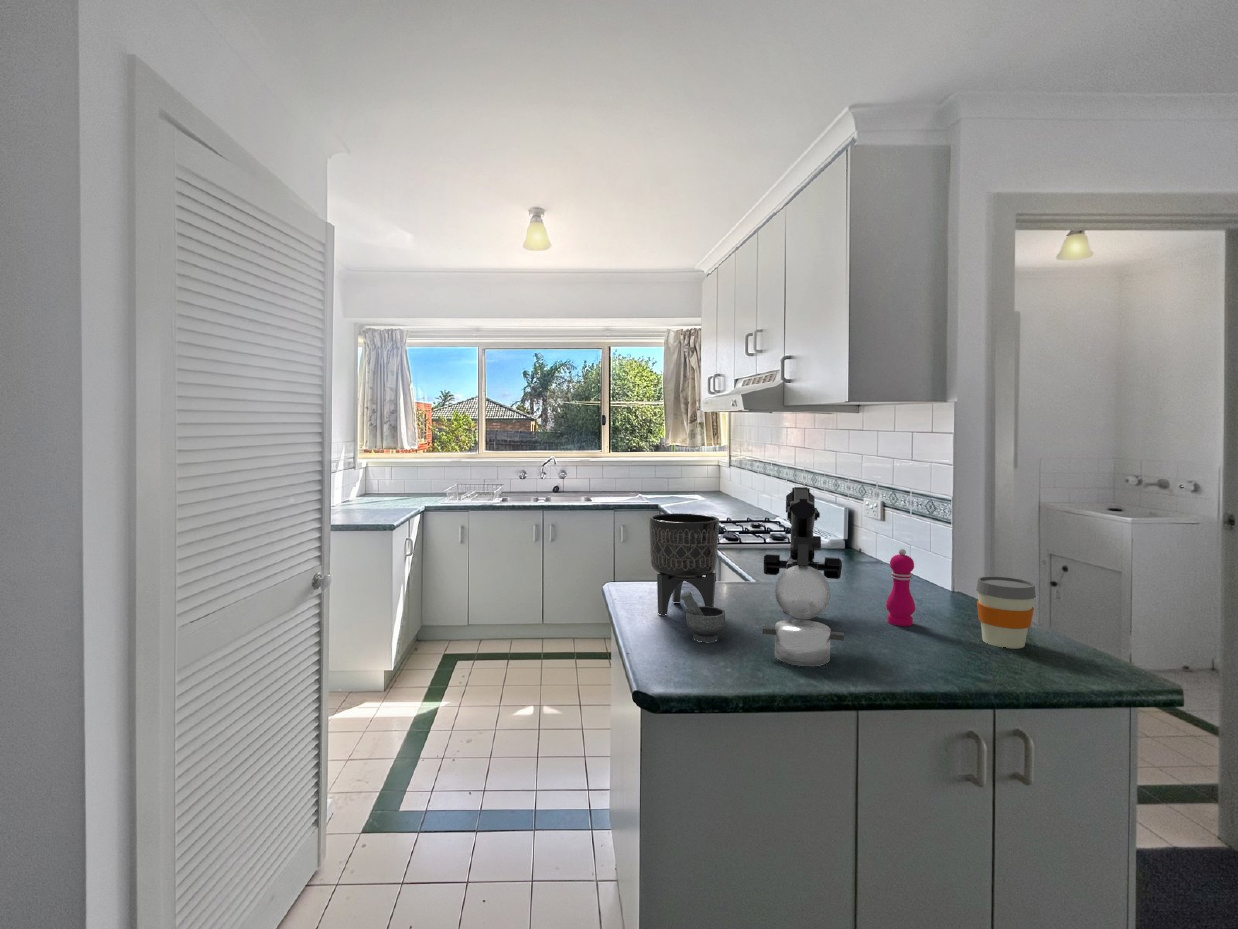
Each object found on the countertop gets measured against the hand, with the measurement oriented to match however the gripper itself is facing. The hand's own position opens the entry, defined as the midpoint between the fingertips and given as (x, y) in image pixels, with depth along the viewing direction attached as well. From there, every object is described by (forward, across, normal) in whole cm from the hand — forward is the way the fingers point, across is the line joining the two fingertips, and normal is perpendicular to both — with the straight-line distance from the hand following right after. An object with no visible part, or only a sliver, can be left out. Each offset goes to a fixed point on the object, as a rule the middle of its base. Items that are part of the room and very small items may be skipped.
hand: (801, 595), depth 161 cm
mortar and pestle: (+12, -23, +5) cm, 26 cm away
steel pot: (+16, 0, 0) cm, 17 cm away
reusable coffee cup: (-1, +48, +17) cm, 51 cm away
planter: (-5, -32, +21) cm, 39 cm away
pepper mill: (-8, +26, +24) cm, 37 cm away
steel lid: (0, 0, -5) cm, 5 cm away
